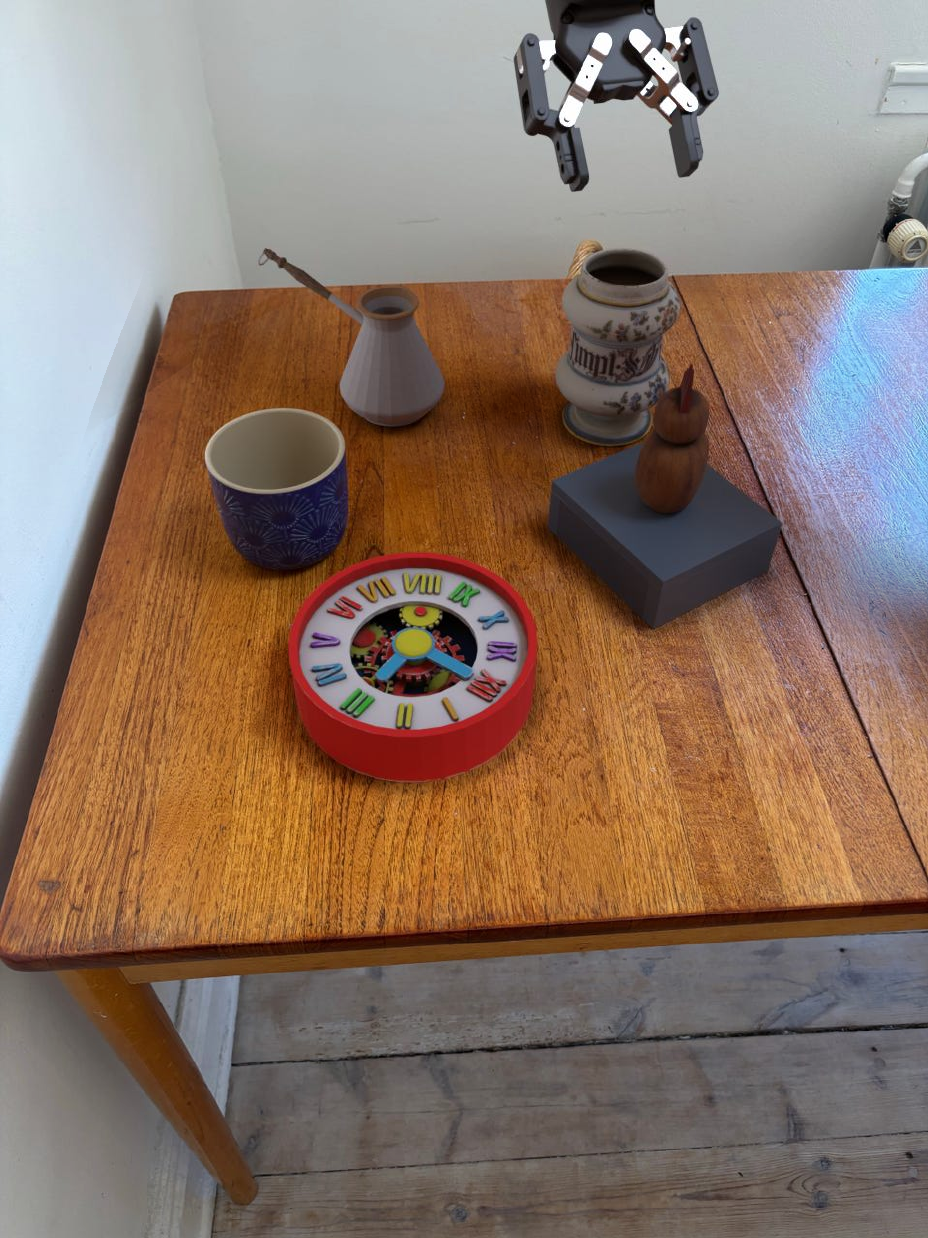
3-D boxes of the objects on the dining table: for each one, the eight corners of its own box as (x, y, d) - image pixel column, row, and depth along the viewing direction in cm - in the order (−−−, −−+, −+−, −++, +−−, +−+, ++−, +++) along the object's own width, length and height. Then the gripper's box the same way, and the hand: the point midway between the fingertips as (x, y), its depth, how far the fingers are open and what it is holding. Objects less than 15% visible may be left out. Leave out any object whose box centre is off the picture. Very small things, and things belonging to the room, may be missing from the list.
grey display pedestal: (657, 479, 104) (666, 431, 100) (768, 570, 95) (783, 522, 90) (547, 528, 99) (551, 480, 94) (653, 629, 90) (663, 581, 85)
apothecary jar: (599, 376, 117) (617, 225, 104) (683, 420, 111) (714, 266, 98) (529, 419, 111) (538, 265, 98) (613, 468, 105) (636, 311, 92)
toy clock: (391, 521, 90) (584, 615, 83) (394, 568, 95) (577, 661, 87) (234, 659, 79) (441, 782, 71) (246, 705, 84) (442, 826, 76)
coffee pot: (463, 394, 114) (463, 270, 103) (412, 449, 107) (407, 322, 96) (306, 345, 121) (291, 224, 110) (248, 394, 114) (226, 269, 103)
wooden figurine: (681, 531, 90) (712, 387, 79) (621, 510, 91) (643, 367, 81) (707, 488, 94) (740, 346, 83) (649, 469, 96) (674, 328, 85)
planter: (312, 600, 92) (298, 508, 84) (199, 560, 95) (175, 468, 87) (377, 518, 100) (370, 427, 92) (270, 484, 103) (254, 394, 95)
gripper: (509, -76, 67) (559, 170, 67) (704, -91, 70) (749, 144, 70) (482, -8, 74) (528, 213, 75) (659, -24, 77) (701, 188, 78)
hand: (635, 179), depth 73 cm, fingers open, 8 cm apart
